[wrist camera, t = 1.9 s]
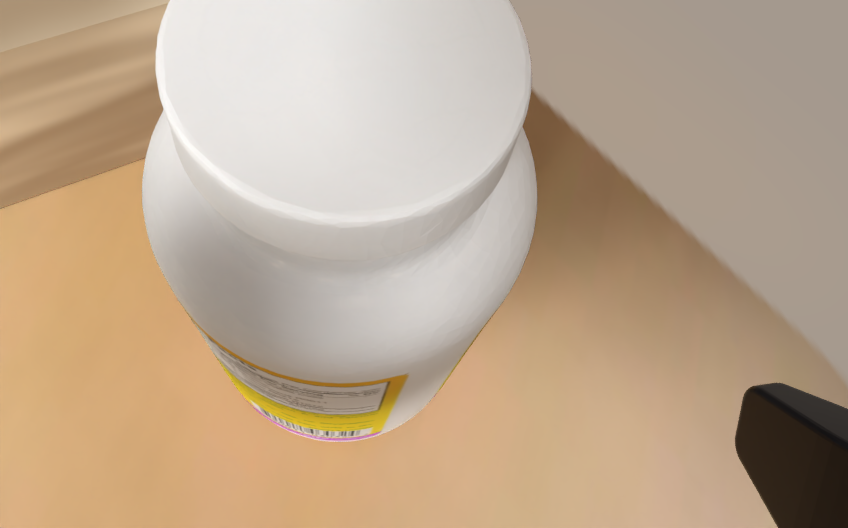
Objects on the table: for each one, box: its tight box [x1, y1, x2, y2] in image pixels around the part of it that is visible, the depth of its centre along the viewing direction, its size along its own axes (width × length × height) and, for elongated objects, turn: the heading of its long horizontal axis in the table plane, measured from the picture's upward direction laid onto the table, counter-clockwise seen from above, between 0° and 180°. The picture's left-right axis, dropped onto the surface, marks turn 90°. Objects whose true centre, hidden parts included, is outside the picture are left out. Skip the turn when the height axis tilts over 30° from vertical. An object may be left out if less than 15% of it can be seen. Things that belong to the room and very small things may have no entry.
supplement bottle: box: [142, 0, 537, 442], centre depth 15 cm, size 7×7×13 cm
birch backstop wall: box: [0, 0, 170, 208], centre depth 19 cm, size 2×13×6 cm, turn 117°
